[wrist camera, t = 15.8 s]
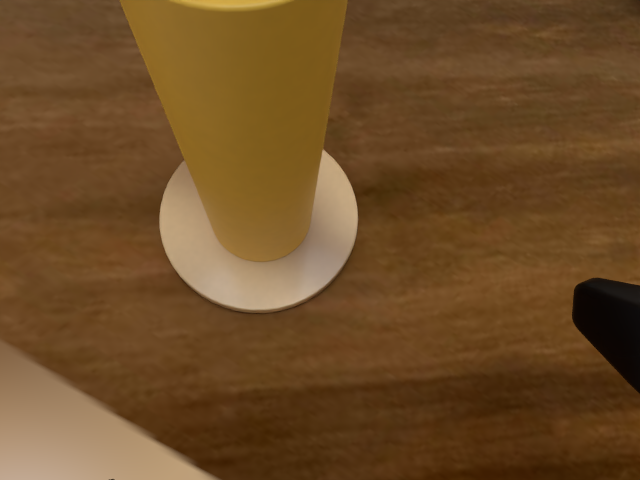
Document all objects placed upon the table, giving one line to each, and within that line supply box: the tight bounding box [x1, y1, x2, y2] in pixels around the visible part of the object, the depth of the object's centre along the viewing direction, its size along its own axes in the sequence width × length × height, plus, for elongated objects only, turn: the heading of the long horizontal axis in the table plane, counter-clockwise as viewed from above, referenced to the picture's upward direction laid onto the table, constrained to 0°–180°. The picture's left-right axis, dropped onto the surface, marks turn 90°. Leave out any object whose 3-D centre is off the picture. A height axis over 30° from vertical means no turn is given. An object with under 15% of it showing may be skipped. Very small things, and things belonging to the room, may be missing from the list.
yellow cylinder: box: [120, 0, 348, 262], centre depth 12 cm, size 4×4×12 cm
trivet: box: [159, 150, 358, 313], centre depth 18 cm, size 8×8×1 cm
